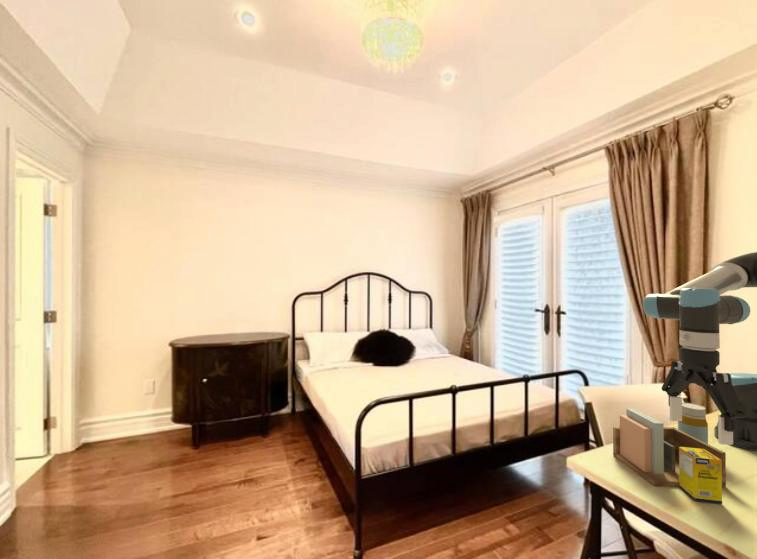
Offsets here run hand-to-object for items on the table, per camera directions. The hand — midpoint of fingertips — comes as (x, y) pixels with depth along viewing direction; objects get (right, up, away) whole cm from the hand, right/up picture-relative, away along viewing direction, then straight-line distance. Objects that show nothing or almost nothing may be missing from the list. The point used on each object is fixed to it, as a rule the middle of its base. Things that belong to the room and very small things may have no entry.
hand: (698, 431), depth 87 cm
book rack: (+1, -17, +12) cm, 20 cm away
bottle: (+19, -17, +22) cm, 33 cm away
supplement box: (0, -17, 0) cm, 17 cm away
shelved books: (-5, -15, +13) cm, 21 cm away
